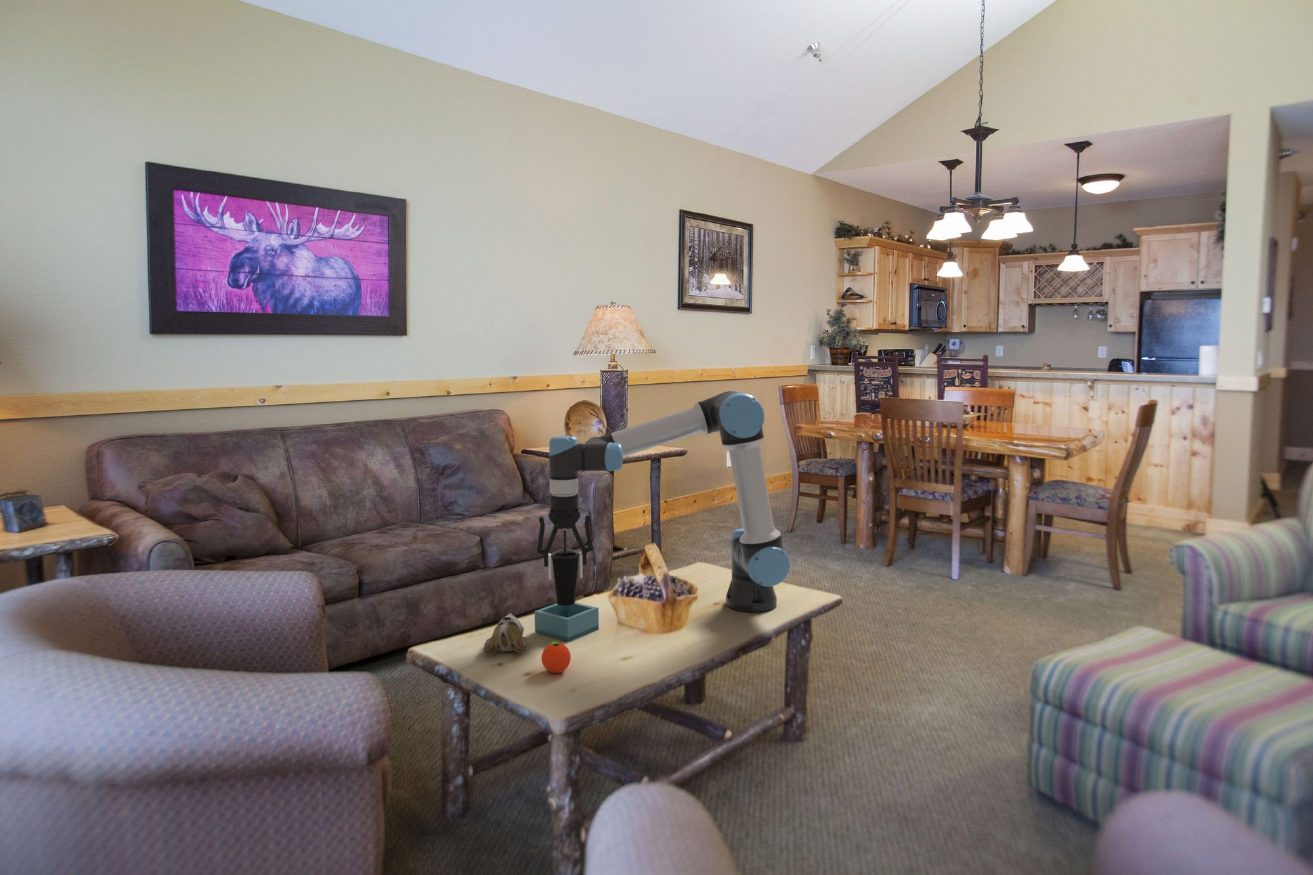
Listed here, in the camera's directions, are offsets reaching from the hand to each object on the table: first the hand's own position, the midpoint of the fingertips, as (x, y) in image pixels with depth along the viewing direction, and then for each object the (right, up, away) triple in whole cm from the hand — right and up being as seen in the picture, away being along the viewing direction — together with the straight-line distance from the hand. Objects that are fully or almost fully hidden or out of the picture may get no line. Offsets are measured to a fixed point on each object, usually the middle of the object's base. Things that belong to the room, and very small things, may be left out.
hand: (565, 577), depth 218 cm
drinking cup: (0, -7, +1) cm, 7 cm away
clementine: (+1, -18, -26) cm, 32 cm away
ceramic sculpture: (-14, -17, -11) cm, 24 cm away
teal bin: (0, -15, +2) cm, 15 cm away
